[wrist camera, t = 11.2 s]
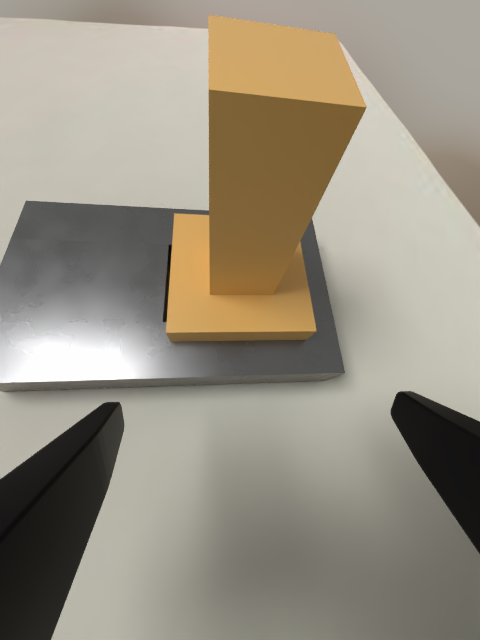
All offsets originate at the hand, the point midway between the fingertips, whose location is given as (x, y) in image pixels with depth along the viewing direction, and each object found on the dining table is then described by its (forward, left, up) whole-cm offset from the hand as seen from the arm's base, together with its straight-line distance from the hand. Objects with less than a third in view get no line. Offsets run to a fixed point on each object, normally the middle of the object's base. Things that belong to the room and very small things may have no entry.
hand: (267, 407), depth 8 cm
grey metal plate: (+9, +1, -8) cm, 12 cm away
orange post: (+7, -3, -8) cm, 11 cm away
